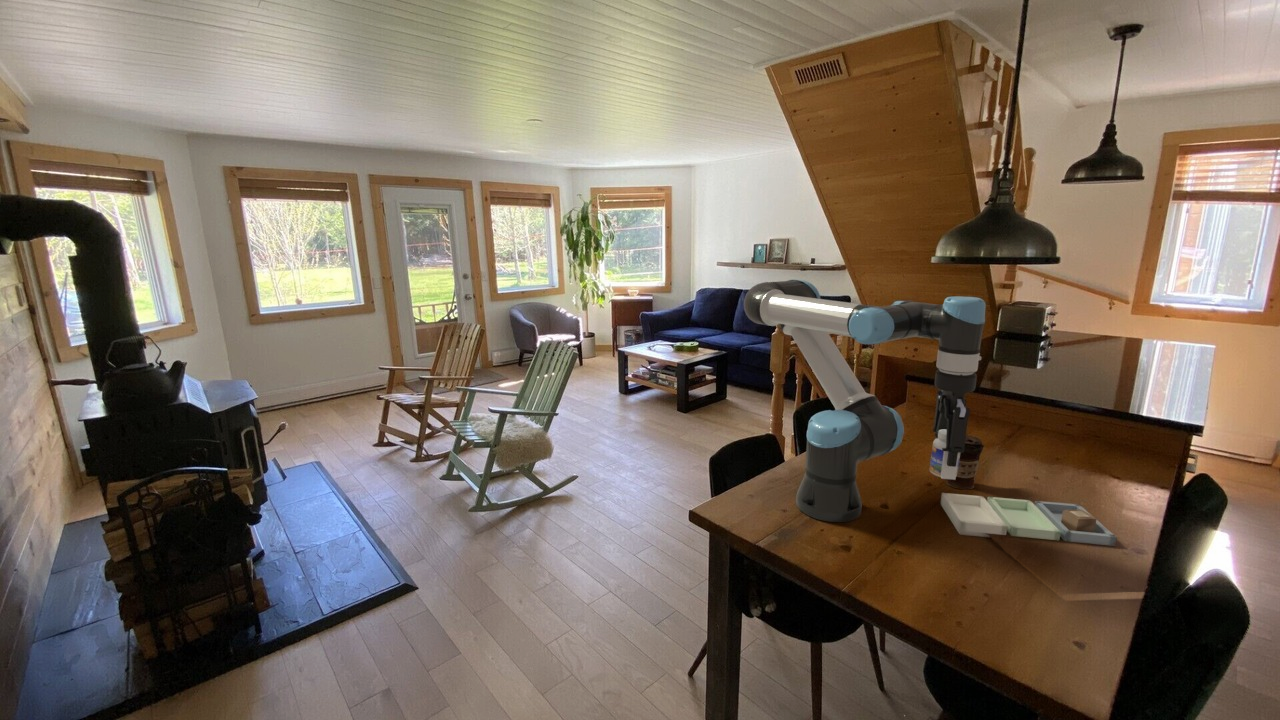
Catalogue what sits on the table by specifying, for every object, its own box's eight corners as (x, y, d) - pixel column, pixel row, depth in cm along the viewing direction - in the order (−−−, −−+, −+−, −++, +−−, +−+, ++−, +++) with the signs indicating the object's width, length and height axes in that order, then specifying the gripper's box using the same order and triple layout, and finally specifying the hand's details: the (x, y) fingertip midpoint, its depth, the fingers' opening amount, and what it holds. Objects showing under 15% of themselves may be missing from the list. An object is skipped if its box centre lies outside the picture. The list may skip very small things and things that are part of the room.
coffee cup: (984, 494, 135) (991, 446, 132) (948, 491, 137) (954, 444, 134) (970, 478, 143) (977, 433, 140) (937, 476, 145) (942, 432, 142)
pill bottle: (923, 470, 119) (928, 429, 117) (942, 466, 121) (947, 426, 118) (943, 480, 114) (949, 438, 112) (963, 476, 116) (969, 434, 113)
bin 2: (1064, 545, 113) (1066, 532, 112) (1033, 512, 126) (1035, 500, 125) (1113, 550, 111) (1116, 537, 110) (1077, 516, 124) (1079, 504, 123)
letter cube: (1075, 536, 114) (1078, 518, 113) (1060, 526, 118) (1063, 509, 117) (1093, 535, 114) (1096, 518, 113) (1077, 525, 118) (1081, 509, 117)
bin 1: (959, 534, 117) (961, 522, 117) (940, 503, 131) (941, 492, 130) (1005, 539, 115) (1007, 526, 115) (981, 507, 129) (982, 496, 128)
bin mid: (1010, 539, 115) (1012, 527, 114) (985, 508, 128) (987, 496, 128) (1058, 544, 113) (1060, 531, 112) (1028, 511, 126) (1030, 500, 126)
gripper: (993, 383, 102) (977, 493, 108) (961, 361, 120) (949, 456, 125) (950, 381, 104) (937, 489, 109) (924, 360, 121) (914, 454, 127)
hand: (943, 472), depth 117 cm, fingers closed on pill bottle, 5 cm apart
